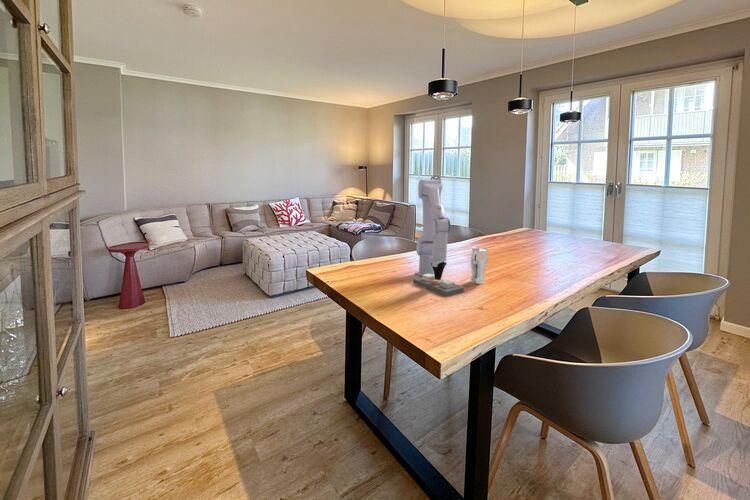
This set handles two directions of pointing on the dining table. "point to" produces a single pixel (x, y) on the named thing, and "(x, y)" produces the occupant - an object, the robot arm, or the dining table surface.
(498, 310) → the dining table surface
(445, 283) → the grey key
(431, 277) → the cream key
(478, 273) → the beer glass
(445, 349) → the dining table surface
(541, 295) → the dining table surface
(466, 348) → the dining table surface
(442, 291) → the key board
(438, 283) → the terracotta key
